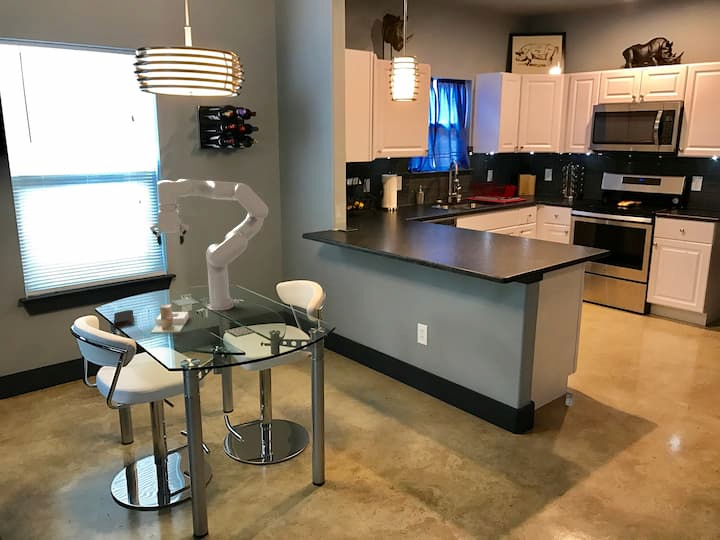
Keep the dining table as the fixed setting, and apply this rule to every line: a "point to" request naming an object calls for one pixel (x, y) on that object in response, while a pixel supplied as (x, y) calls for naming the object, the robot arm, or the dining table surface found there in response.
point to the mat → (159, 330)
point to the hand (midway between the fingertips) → (171, 244)
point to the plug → (166, 317)
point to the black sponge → (123, 318)
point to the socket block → (176, 318)
